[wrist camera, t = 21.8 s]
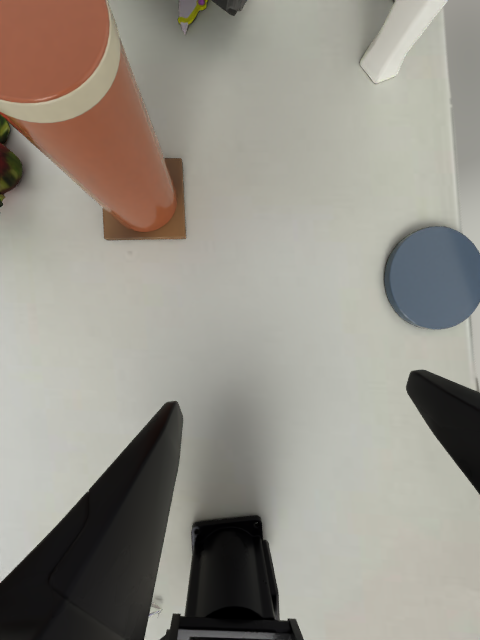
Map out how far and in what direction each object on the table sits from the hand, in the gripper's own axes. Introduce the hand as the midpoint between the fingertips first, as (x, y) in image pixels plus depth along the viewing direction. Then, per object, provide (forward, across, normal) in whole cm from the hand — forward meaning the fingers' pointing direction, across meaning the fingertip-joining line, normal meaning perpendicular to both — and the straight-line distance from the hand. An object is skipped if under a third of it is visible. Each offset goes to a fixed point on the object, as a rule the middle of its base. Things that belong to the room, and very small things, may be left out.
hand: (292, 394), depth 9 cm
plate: (+15, -18, +2) cm, 23 cm away
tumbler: (+16, +9, -8) cm, 20 cm away
